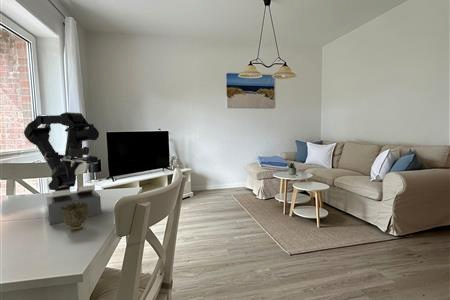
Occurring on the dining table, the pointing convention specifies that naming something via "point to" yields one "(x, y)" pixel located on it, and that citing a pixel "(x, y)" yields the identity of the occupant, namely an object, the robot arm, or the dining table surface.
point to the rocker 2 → (85, 189)
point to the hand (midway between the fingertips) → (69, 178)
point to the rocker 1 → (60, 193)
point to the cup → (75, 215)
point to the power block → (57, 202)
